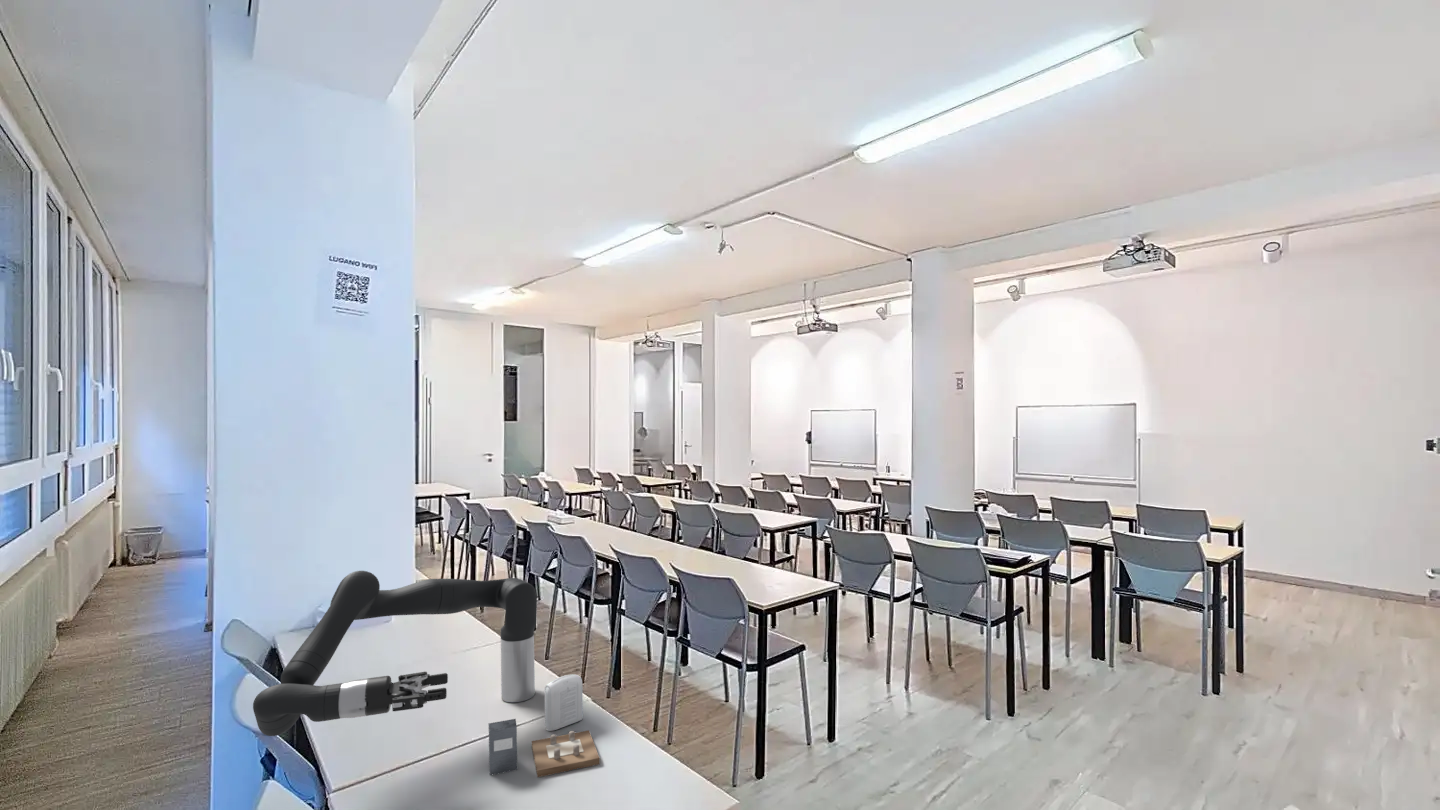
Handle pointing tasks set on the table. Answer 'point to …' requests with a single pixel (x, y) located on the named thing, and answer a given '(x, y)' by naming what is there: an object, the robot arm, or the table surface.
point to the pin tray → (564, 753)
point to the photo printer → (563, 702)
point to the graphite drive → (502, 746)
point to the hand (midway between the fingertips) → (447, 685)
